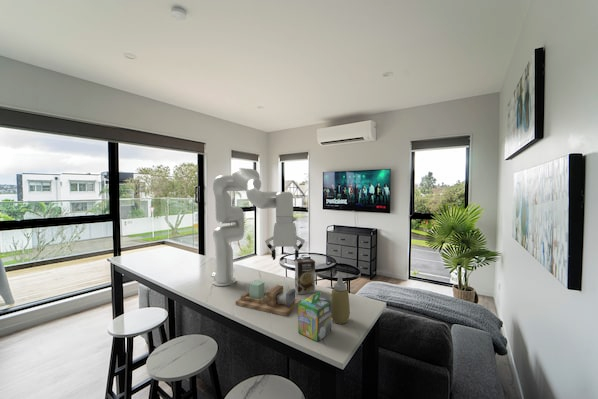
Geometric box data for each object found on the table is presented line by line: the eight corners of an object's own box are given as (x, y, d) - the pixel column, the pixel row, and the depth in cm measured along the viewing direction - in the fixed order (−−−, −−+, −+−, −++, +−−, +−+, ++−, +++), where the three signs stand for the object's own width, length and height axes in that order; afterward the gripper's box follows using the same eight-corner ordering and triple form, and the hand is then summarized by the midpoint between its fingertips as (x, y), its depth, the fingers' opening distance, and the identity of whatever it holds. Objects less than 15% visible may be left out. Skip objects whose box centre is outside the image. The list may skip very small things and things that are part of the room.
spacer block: (249, 298, 117) (249, 283, 117) (255, 294, 122) (255, 280, 121) (258, 300, 115) (258, 285, 115) (264, 296, 120) (264, 281, 119)
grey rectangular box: (267, 302, 112) (267, 290, 112) (274, 297, 118) (274, 285, 118) (289, 307, 108) (289, 294, 108) (295, 301, 114) (295, 289, 113)
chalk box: (312, 323, 99) (312, 285, 99) (332, 331, 93) (332, 291, 93) (297, 333, 92) (297, 292, 92) (317, 343, 86) (317, 299, 86)
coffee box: (297, 294, 126) (297, 262, 125) (294, 289, 132) (294, 259, 132) (315, 292, 128) (315, 261, 128) (311, 288, 135) (311, 257, 134)
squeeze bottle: (347, 315, 105) (347, 272, 105) (352, 325, 97) (352, 279, 97) (328, 315, 105) (328, 272, 104) (331, 325, 97) (331, 279, 96)
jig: (235, 304, 115) (235, 288, 115) (253, 293, 128) (253, 278, 127) (286, 316, 104) (286, 298, 104) (300, 302, 117) (300, 286, 117)
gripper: (304, 219, 114) (305, 257, 115) (266, 219, 115) (267, 257, 116) (304, 221, 107) (304, 261, 107) (263, 221, 108) (264, 261, 108)
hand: (285, 259), depth 111 cm, fingers open, 9 cm apart
